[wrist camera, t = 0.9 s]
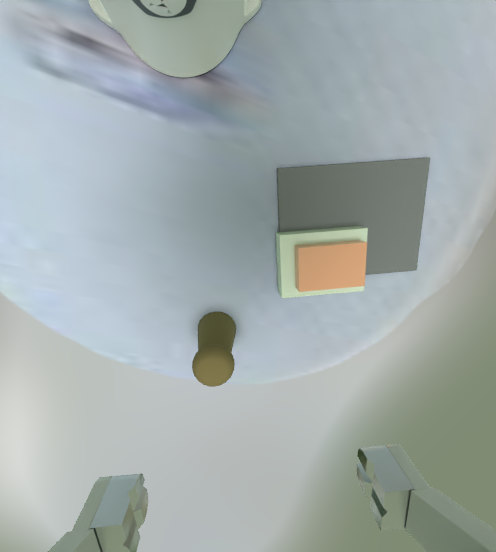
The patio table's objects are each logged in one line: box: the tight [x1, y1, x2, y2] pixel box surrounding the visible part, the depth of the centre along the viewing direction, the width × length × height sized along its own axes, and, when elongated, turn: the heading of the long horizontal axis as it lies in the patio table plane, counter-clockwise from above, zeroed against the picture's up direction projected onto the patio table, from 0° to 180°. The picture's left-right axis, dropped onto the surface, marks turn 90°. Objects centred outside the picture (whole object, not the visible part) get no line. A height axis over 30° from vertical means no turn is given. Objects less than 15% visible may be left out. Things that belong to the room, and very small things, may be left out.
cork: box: [192, 312, 236, 386], centre depth 36 cm, size 6×6×11 cm
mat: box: [277, 158, 430, 275], centre depth 38 cm, size 16×21×1 cm
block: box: [295, 240, 367, 292], centre depth 36 cm, size 6×9×2 cm, turn 94°
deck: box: [276, 226, 368, 298], centre depth 38 cm, size 9×12×3 cm
